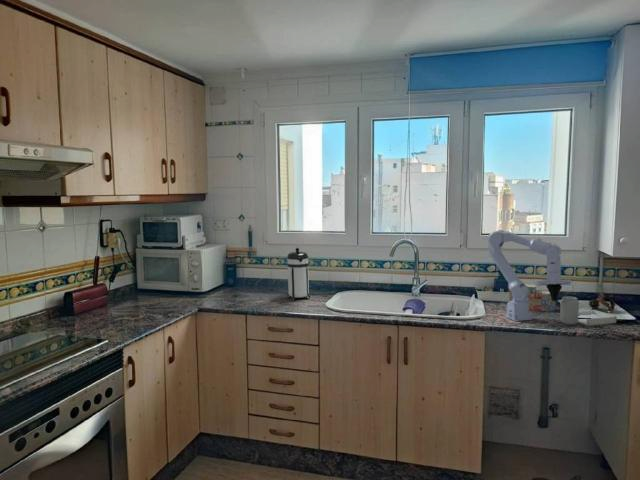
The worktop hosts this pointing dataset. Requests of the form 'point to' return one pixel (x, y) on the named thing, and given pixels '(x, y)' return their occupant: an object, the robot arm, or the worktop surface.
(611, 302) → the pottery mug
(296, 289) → the coffee press
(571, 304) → the can
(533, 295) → the stack of blocks
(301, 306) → the worktop surface
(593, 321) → the tray
